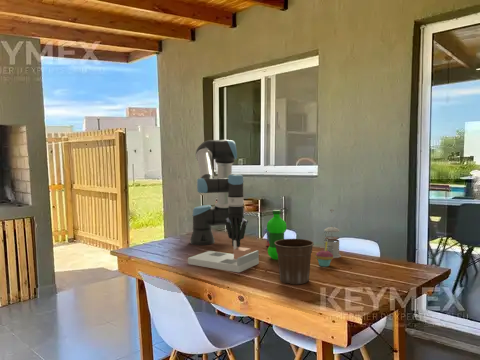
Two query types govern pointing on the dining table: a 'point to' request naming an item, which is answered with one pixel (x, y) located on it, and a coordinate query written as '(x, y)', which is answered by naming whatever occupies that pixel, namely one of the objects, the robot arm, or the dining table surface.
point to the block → (241, 252)
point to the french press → (332, 241)
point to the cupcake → (324, 257)
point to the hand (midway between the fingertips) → (236, 253)
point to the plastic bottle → (275, 232)
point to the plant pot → (294, 260)
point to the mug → (267, 237)
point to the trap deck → (225, 260)
